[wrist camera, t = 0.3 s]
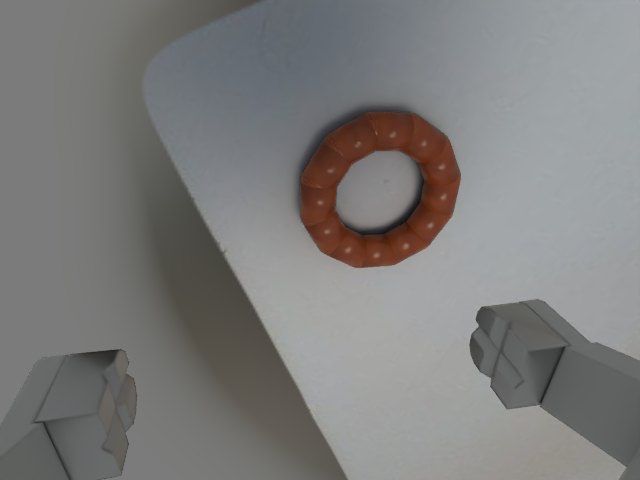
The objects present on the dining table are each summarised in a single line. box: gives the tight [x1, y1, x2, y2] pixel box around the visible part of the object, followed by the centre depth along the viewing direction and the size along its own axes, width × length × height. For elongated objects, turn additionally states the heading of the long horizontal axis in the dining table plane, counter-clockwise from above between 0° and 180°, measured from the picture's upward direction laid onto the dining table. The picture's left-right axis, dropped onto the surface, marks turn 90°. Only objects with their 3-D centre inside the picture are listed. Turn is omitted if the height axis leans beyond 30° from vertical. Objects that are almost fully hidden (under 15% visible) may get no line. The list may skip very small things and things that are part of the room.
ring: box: [300, 112, 461, 268], centre depth 28 cm, size 11×11×2 cm
